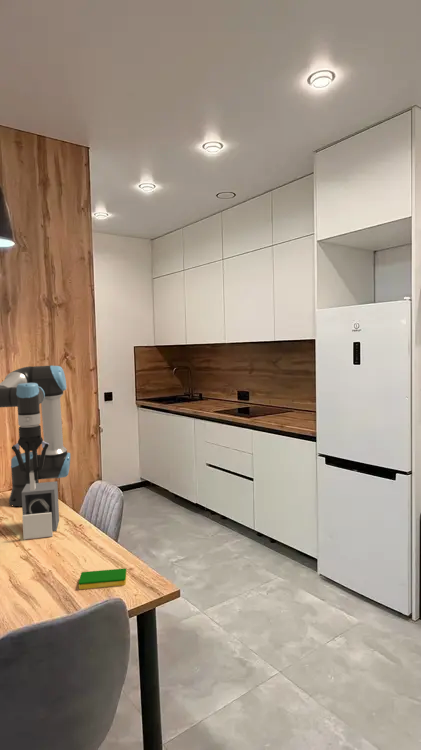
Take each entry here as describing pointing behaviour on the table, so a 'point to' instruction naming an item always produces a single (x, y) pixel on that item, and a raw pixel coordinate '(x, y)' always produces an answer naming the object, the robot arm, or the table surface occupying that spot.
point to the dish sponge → (102, 578)
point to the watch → (41, 503)
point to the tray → (37, 525)
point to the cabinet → (41, 491)
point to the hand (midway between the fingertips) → (33, 489)
